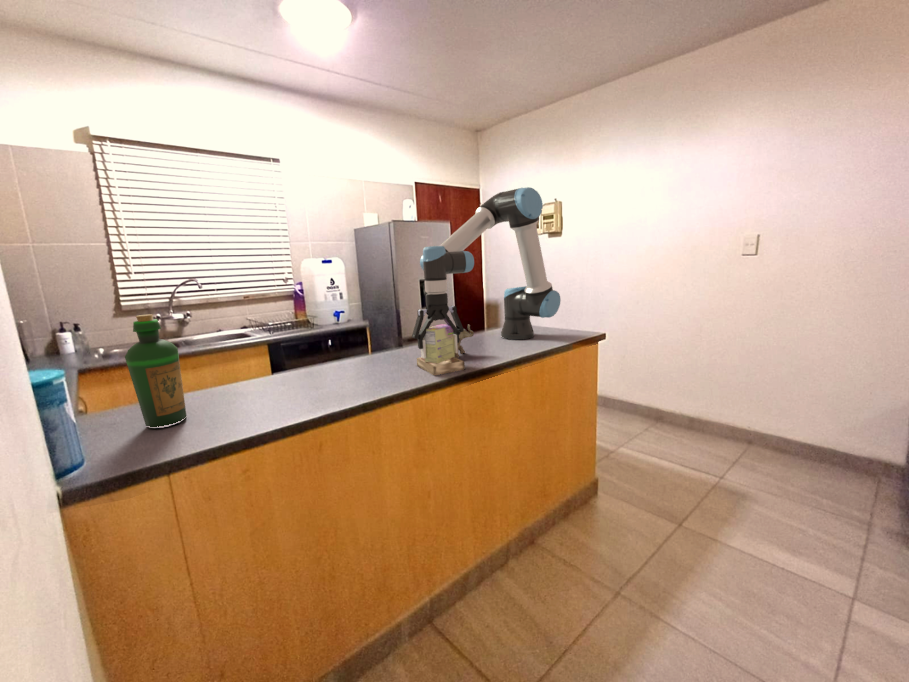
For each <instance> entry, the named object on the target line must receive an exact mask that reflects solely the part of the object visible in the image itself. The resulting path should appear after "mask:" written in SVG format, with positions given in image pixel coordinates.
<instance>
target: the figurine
mask: <svg viewBox="0 0 909 682" xmlns="http://www.w3.org/2000/svg"><path fill="white" fill-rule="evenodd" d="M463 329H464V331H463V332H461V333H460V335H459V343H457V346H458V353H455V358H458V359H459V358H460V355H464V354H463V353H465V354H466V350H465V349H464V347H463V346H462V345H461V343H462V342H461V341H462V340H464V339H465V338H472V337H474V335H475V334H474V331H473V330H471V325H470V324H467V329H465V328H463ZM467 330H468V331H467ZM453 334H454V333H453ZM460 353H461V354H460ZM459 354H460V355H459Z"/></svg>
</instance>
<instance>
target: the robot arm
mask: <svg viewBox="0 0 909 682" xmlns="http://www.w3.org/2000/svg"><path fill="white" fill-rule="evenodd" d="M543 205H544V204H543V199H542V197H541V194H540V193H539V192H538V190H536V189H535V188H532V187H528V186H527V187H520V188H514V189H509V190H507V191H501V192H498V193H496V194H494V195H492V196H491V197H490V198H489V199H487V200H486V201H485V202H483V203H482V204H481V205H480V206H479V207H478V208H477V209H476V210H475V212H474V213H475V214H473V216H471V217H470V218H469V219H468V220H467V221H466V222H464V223H463V224H462V225H461V226H460V227H458V229H456V230H455V231H454V232H453V233H452V234H451V235H449V237H448V238H447V239H445V240H444V241H443V242H442V243H441V244H440V245H434V246H433V245H432V246H431V245H430V246H425V247H423V249H422V255H421V257H420V259H419V265H420V268H421V270H422V271H423V276H424V277H423V278H424V291H425V293H426V294H425V306H426V308H425V309H421V308H418V309H417V316H416V317H417V318H416V321H415V323H414V324H415V325H414V328H413V332H412V334H411V338H413V339H415V340H417V348H418V349H419V350H420V357H422V358H424V359H425V358H426V344H425V339H423V338H424V336H425V334H426V329H429V327H431V325H432V323H433V322H434V321H435V322H436V321H439V320H440V321H443V320H444V322H445V324H447V325H449V326H451V328H452V329H453V333H454V334H453V335H454V353H458V354H459V349H458V346H457V343H459V335H460V333H461V332H463V331H464V329H465V328H464V327H463V324H462V322H461V320H460V317H459V315H458V312H457V311H458V310H457V305H456V306H455V305H450V306H448V305H449V304H448V303H449V300H448V297H449V296H448V293H447V292H448V280H447V279H448V277H447V275H450V274H465V273H469V272H471V271H472V270H473V269H474V266H475V258H474V255H473V254H472V253H471V252H470V251H468V250H467V251H466V250H465V249H467V248H468V247H469V246H470V245H471V244H472V243H473V242H474V241H476V239H478V238H479V237H480V236H481V235H482V234H483V233H484V232H485V231H486V230H489V229H493V227H495V226H496V225H499V224H501V223H507V222H508V223H509V228H510V230H513V231H514V235H515V237H516V243H517V246H518V250H519V251H518V252H519V256H520V259H521V260H520V261H521V264H522V269H523V273H524V277H525V282H526V285H525V286H519V287H518V286H517V287H510V288H506V289H505V290H504V293H503V307H504V308H503V309H504V311H503V313H504V314H503V315H504V321H503V325H502V328H501V331H500V336H502V337H504V338H508V339H507V340H511V339H523V340H530V339H532V338H534V336H535V331H534V328H533V325H532V322H531V317H537V318H542V319H543V318H549V319H550V318H552V317H554V316H555V315H556V314H557V312H558V311H559V309H560V307H561V301H562V300H561V295H560V292H558V291H557V290H553V284H552V283H551V282H550V281H548V279H547V278H548V277H547V273H546V267H545V262H544V258H543V253H542V247H541V243H540V238H539V233H538V228H537V224H538V223H539V221H540V218H539V217H540V216H541V215H542V212H543V210H542V209H543V207H544V206H543ZM448 313H450V316H451V317H452V319H453V321H452V320H451V318H450V316H449V315H448ZM425 315H427V316H426V318H425ZM424 318H425V320H424ZM423 322H424V323H423ZM453 322H454V323H453ZM502 337H501V338H502ZM504 338H503V339H504ZM529 338H530V339H529Z"/></svg>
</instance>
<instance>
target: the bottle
mask: <svg viewBox="0 0 909 682" xmlns="http://www.w3.org/2000/svg"><path fill="white" fill-rule="evenodd" d="M153 316H154V315H153V314H152V313H151V314H150V313H149V314H148V313H147V314H139V315H136V316H135V317H136V318H135V319H137V320H136V321H133V324H132V332H135V334H136V335H137V339H138V342H135V343H134V344H133V345H132V346H131V347H129V348H128V350H127V352H126V354H125V355H124V358H125V359H124V360H125V362H126V366H127V369H128V372H129V375H130V376H129V377H130V379H131V382H132V385H133V388H134V391H135V395H136V398H137V401H138V405H139V408H140V411H141V414H142V417H143V421H144V423H145V427H146V426H150V427H157V426H158V427H159V426H164V425H169V424H173V423H176V422H178V421H181V420H182V419H184V418H185V417H186V416H187V411H186V410H187V409H186V402H185V395H184V394H185V393H184V387H183V385H184V384H183V378H182V372H181V363H180V356H179V348H178V347H177V345H175V344H174V343H173V342H171V341H168V340H166V339H161V338H160V332H159V330H160V329H162V327H161V324H160V323H159V320H158V319H157V318H153ZM186 418H187V417H186Z"/></svg>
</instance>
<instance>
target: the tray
mask: <svg viewBox="0 0 909 682" xmlns="http://www.w3.org/2000/svg"><path fill="white" fill-rule="evenodd" d="M465 366H466V365H465V360H462V359H459V357H458V358H455V357H454V358H450V359H448V360H445V361H443V362H440V363H438V364H436V363H429V362H425V359H424V358H422V357H421V356H420V357H417V358H416V367H418V368H419V369H421V370H423V371H425V372H427V373H428V372H429V373H428V374H430V375H431V376H434V377H435V376H436V377H437V376H440V374H441V375H446V374H451V373H455V371H456V372H460V370H461V371H465V370H466V367H465ZM464 369H465V370H464Z"/></svg>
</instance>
